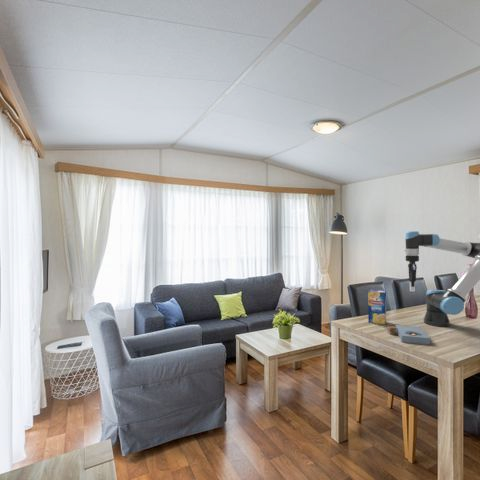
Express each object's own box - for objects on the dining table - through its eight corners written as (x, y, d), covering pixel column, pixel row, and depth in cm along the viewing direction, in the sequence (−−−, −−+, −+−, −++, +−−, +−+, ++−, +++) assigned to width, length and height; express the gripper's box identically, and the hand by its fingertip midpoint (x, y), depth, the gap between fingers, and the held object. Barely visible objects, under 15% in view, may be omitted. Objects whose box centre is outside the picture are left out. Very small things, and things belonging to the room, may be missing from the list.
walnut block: (393, 332, 190) (393, 326, 190) (396, 334, 186) (396, 328, 186) (387, 332, 190) (387, 326, 190) (390, 334, 186) (389, 328, 186)
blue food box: (385, 324, 207) (385, 292, 206) (368, 322, 212) (368, 291, 212) (386, 321, 213) (386, 290, 212) (369, 319, 218) (369, 289, 218)
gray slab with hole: (395, 330, 193) (395, 324, 193) (420, 332, 189) (420, 326, 189) (401, 341, 173) (401, 335, 173) (429, 344, 168) (429, 338, 168)
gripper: (403, 254, 203) (404, 289, 203) (407, 255, 191) (407, 293, 191) (416, 254, 201) (416, 290, 201) (421, 255, 188) (421, 293, 189)
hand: (412, 291), depth 196 cm, fingers closed
